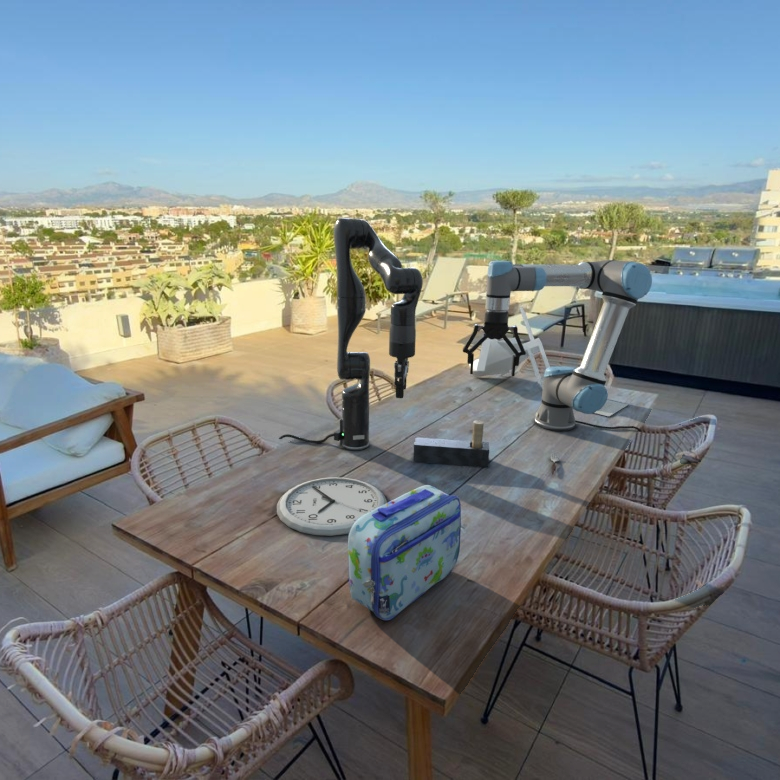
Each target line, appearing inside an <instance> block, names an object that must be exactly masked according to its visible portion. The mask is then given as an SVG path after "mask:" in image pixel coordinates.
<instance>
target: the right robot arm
mask: <svg viewBox="0 0 780 780" xmlns="http://www.w3.org/2000/svg"><path fill="white" fill-rule="evenodd" d="M486 277H487V278H486V294H485V295H486V296H485V307H484V309H485V311H484V321H483V325H481V324H477V323H474V325H473V330H472V332H471V334H470V335H469V337H468V339H467V340H466V342H465V344H464V345H463V347H462V352H463V353H464V354H467V360H466V361H467V364H468V365H469V364H471V366H469V374H470V375H473V361H475V360H474V359H475V358H474V357H475V354H474V352H476V350H477V349H478V348H479V347H481V346H482V343H483V342H484V341H485V340H486V339H487V338H489V339H497V340H498V341H501V340H504V341H505V342H506V343H507V344H508V346H509V347H510V348H511V350H512V351H513V352H514V354H515V355H513V360H512V369H511V370H510V373H511V377H515V376H516V367H519V365H520V363H519V358H520V356H521V355H525V354H526V352H525V350H524V347H523V345H522V344H523V343H522V340H521V338H520V335H519V332H518V331H519V330H518V326H517V325H514V324H513V326H512V325H511V326H509V315H510V312H509V310H510V304H511V303H510V301H511V293H512V292H535V291H536V292H537V291H541V290H543V289H544V288H545V287H576V288H578V289H580V290H589V291H591V290H592V291H596V292H600V293H601V299H602V300H603V302H602V303H603V304H602V306H601V308H600V311H599V313H598V317H597V320H596V323H595V325H594V328H593V330H592V333H591V336H590V339H589V341H588V344H587V345H586V349H585V351H584V354H583V357H582V359H581V362H580V364H579V366H578V367H573V366H564V365H563V366H561V365H559V366H558V365H557V366H550V367H549V368H547V369H546V368H545V370H544V375H543V380H542V382H543V389H542V394H541V402H540V405H539V407H538V410H537V411H535V416H534V424H535V425H536V426H537V427H539V428H542V429H544V430H549V431H556V432H567V431H572V430H574V429H575V428H576V423H577V424H580V425H585V426H589V427H593V428H599V429H606V430H617V429H635V430H637V432H640V433H641V432H643V431H642V429H640V428H639V427H637V426H634V425H627V426H626V425H625V426H624V425H619V426H604V425H598V424H593V423H589V422H585V421H580V420H577V419H576V418H575V417H576V416H575V413H574V410H575V411H576V412H579V413H582V414H585V415H590V414H596V413H595V412H596V411H598V410H600V409H601V408H602V407H603V406H604V404H605V403H606V401H607V400H608V399H609V397H608V396H609V392H608V389H607V388H606V383H607V378H606V375H605V374H606V370H607V368H608V366H609V363H610V360H611V357H612V355H613V352H614V349H615V347H616V344H617V342H618V338H619V336H620V334H621V332H622V328H623V327H624V324H625V321H626V319H627V316H628V313H629V311H630V310H631V308H635V306H637V303H638V300H640V299H643V298H644V297H645V296H647V294H649V292H650V290H651V288H652V284H653V276H652V273H651V270H650V269H649V267H648V266H647V265H646V264H644V263H642V262H637V261H633V260H632V261H630V260H629V261H627V260H615V259H606V260H604V259H603V260H594V261H581V262H580V263H578V264H529V263H528V264H527V263H526V264H523V263H522V264H517V263H516V264H514V263H513V261H511V260H492V261H490V262H489V263H488V268H487V274H486ZM480 331H483V334H482V335H481V336H480V337H479V338H478V340H477V341H476V342H475V343H474V344H473V345H472V346H471V344H472V343H473V341H474V339H475V338H476V336H477V334H478V333H479V332H480ZM509 331H510V333H511V334H513V336H514V338H515V339H516V341H517V344H518V346H519V348H520V351H519V352H518V351H517V349H516V348H515V347H514V345H513V344H512V343H511V341H510V340H509V339H510V338H509V337H508V336H507V335H506V334H508V332H509ZM470 346H471V347H470Z"/></svg>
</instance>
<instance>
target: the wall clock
mask: <svg viewBox="0 0 780 780" xmlns="http://www.w3.org/2000/svg"><path fill="white" fill-rule="evenodd" d="M386 503H388V500H387V498H386V496H385V494H384V493H383V492H382V491H381V490H380V489H379V488H377V487H376V486H374V485H372V484H371V483H369V482H365V481H362V480H359V479H355V478H349V477H338V476H337V477H335V476H333V477H332V476H331V477H322V478H317V479H312V480H307V481H305V482H302V483H299V484H297V485H295V486H293V487H292V488H290V489H288V490H287V491H286V492H285V493H284V494H283V495H281V496H280V498H279V499H278V502H277V503H276V515H277V517H278V518H279V520H280V521H281V522H282V523H283V524H285V525H286V526H287V527H288V528H290V529H293V530H295V531H297V532H299V533H303V534H308V535H312V536H327V537H328V536H329V537H331V536H332V537H333V536H342V535H349V533H350V530H351V528H352V526H353V524H354V523H355V521H356V520H357V519H358V518H359V517H361V516H363V515H365V514H366V513H369V512H371V511H373V510H375V509H376V508H378V507H380V506H382V505H384V504H386Z"/></svg>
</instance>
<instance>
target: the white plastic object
mask: <svg viewBox="0 0 780 780" xmlns="http://www.w3.org/2000/svg"><path fill="white" fill-rule="evenodd" d="M519 310H520V314H521V316H522V320H523V323H524V326H525V329H526V331H527V335H528V338H529V341H527V342H524V343H522V345H523V347H524V350H525V352H526V354H525V355H521V356H520V358H519V364H521V363H523V362H524V361H526V360H527V359H528V357H529V360H530V363H531V366H532V369H533V372H534V375H535V379H536V382H537V383H538V385H539V386H540V388H541V389H542V390H543V380H542V379H543V378H542V377H541V373H540V371H539V367H538V364H537V362H536V359H535V355H534V354H537V353H540V354H541V357H542V360H543V363H544V366H545V370H546V369H547V368H549V367H551V365H550V363H549V360H548V356H547V354H546V352H545V351H546V350H545V348H544V346H543V342H542V341H541V339H540V337H537V338H535V337H534V334H533V330H532V328H531V325H530V323H529V319H528V316H527V313H526V311H525V309H524V307H523V306H520V307H519ZM508 339H509V340H510V341H511V343H512V344H513V345H514V347H515V348H516V349H517V351H518V352H519V351H520V348H519V346H518V344H517V341H516V339H515V337H510V338H508ZM513 355H515V354H514V352H513V351H512V350H511V348H510V347H509V346H508V344H507V343H506V342H505V341H504V339H500V340H497V339H489V338H487V339H486V340H485V341H484V342H483V343H482V344H481V345H480V352H479V356H478V358H477V359H475V360H474V361H473V374H472V375H473V377H475V378H477V377H488V376H495V375H500V376H505V375H507V374H509V373H511V371H512V360H513ZM468 366H469V367H470V366H471V364H468Z"/></svg>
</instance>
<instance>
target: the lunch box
mask: <svg viewBox="0 0 780 780" xmlns="http://www.w3.org/2000/svg"><path fill="white" fill-rule="evenodd" d="M461 520H462V506H461V500H460V498H459V497H458V496H457V495H454V494H450V495H449V494H448V493H445V492H444V491H442V490H440V489H438V488H436V487H435V486H432V485H430V484H425V485H420V486H418V487H416V488H415V489H412V490H410V491H408V492H406V493H404V494H402V495H400V496H398V497H396V498H394V499H392V500H390V501H387V503H386V504H384V505H382V506H380V507H378V508H376V509H375V510H373V511H371V512H369V513H366V514H365V515H363V516H361V517H359V518H358V519H357V520H356V521H355V523H354V524H353V526H352V528H351V530H350V533H349V534H348V536H347V537H348V538H347V557H348V559H347V560H348V586H349V592H350V597H351V599H352V600H353V601H355V602H356V603H358V604H360V605H362V606H364V607H365V608H366V609H368V610H369V611H371V612H372V613H374V615H375V616H376V617H377V618H379V619H380V620H383V621H390V620H393V619H394V618H395V617H397V616H398V615H399V614H400V613H401V612H402V611H403V610H405V609H406V608H407V607H408V606H409V605H411V604H412V603H414V602H415V601H416V600H417V599H419V598H420V597H421V596H422V595H424V594H425V593H426V592H427V591H429V589H431V588H432V587H433V586H435V585H436V584H438V583H439V582H440V581H442V580H444V579H445V578H446V577H448V575H450V573H451V572H452V571H453V570H454V568H455V566H456V564H457V562H458V559H459V555H460V552H461V551H460V549H461V535H462V534H461V533H462V521H461Z"/></svg>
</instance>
